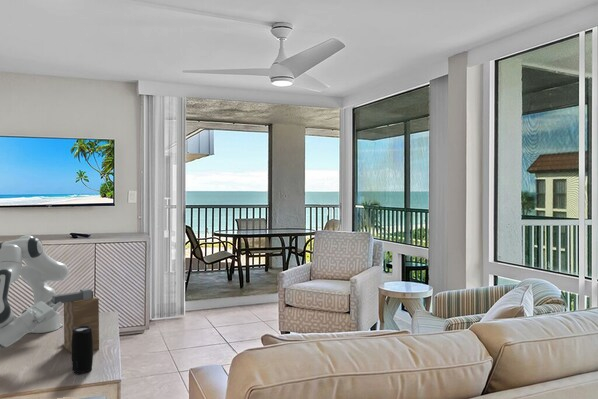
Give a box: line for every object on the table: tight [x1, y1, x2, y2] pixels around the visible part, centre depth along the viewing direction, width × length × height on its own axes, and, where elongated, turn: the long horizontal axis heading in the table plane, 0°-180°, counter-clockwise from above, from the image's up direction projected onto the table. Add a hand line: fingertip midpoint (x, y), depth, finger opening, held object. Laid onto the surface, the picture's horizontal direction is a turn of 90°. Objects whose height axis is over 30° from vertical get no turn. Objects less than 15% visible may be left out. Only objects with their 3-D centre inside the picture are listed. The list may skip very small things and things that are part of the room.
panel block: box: [63, 295, 100, 354], centre depth 236 cm, size 15×12×26 cm
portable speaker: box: [71, 325, 94, 375], centre depth 207 cm, size 9×9×20 cm
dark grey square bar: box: [52, 288, 94, 304], centre depth 229 cm, size 5×18×5 cm, turn 134°
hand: (58, 300), depth 225 cm, fingers open, 8 cm apart
